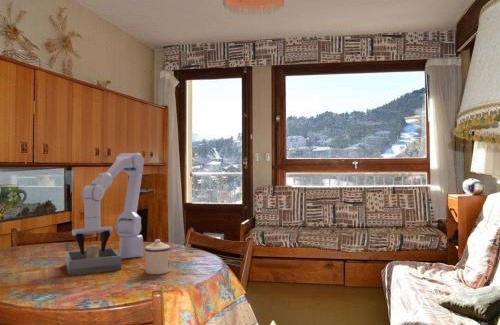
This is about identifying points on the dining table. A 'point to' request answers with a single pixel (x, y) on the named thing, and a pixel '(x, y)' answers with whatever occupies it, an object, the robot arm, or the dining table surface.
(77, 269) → the box
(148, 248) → the teacup with lid
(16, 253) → the dining table surface
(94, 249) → the peg
